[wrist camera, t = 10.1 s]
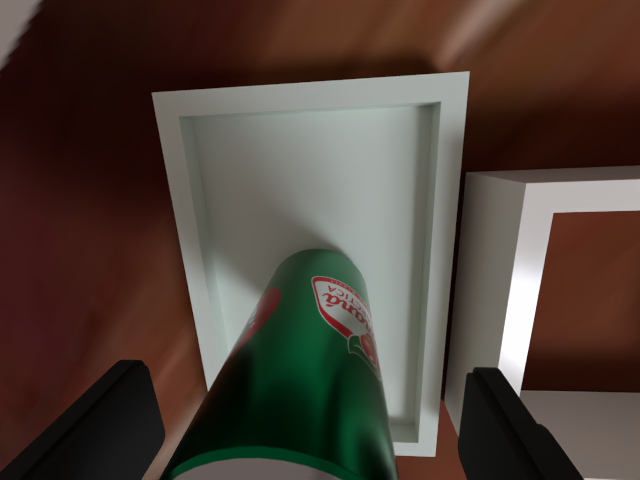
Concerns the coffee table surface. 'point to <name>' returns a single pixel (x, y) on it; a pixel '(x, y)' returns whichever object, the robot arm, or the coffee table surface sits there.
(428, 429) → the tray
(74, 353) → the coffee table surface
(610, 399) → the holder
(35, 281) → the coffee table surface
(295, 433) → the soda can
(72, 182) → the coffee table surface
